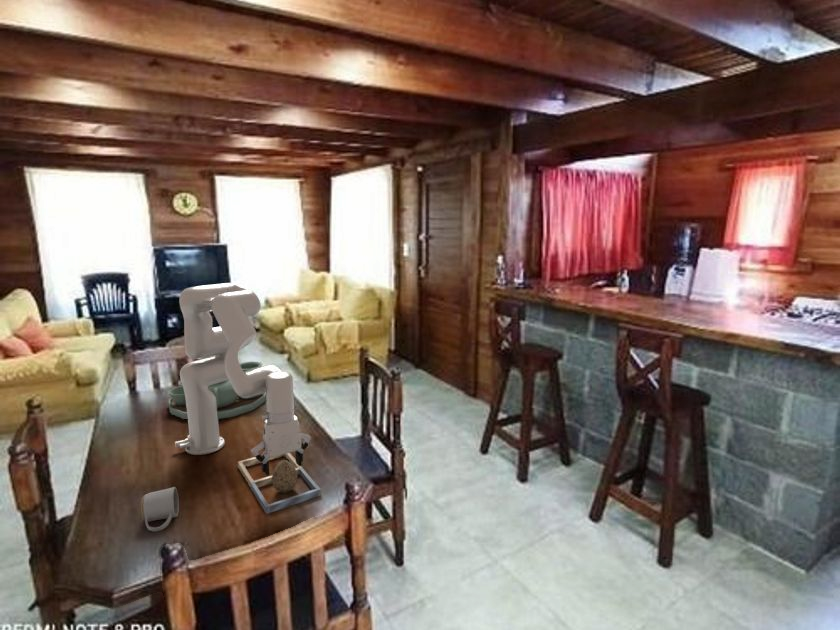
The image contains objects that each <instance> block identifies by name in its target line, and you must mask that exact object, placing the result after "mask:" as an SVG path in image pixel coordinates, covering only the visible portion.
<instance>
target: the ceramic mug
mask: <svg viewBox="0 0 840 630" xmlns="http://www.w3.org/2000/svg"><path fill="white" fill-rule="evenodd" d="M140 501H141V503H140V514H141V518H142V520H143V521H144V522H145V523H144V524H145V526H146V528H147V530H148V531H150V532H153V533H154V532H159V531H163V530H164V529H165V528H168V526H169V525H170V522H171V520H172V518H177V517H178V515H179V511H180V510H179V509H180V501H179V493H178V490H177V488H176V487H175V486H173V487H167V488H165V489H164V488H163V489H161V490H157V491H152V492H148V493H146V494H144V495H142V497H141V500H140ZM160 520H166V521H165V522H164V523H162V524H161V525H160V526H158V527H157V526H156V527H154V526H151V525H149V522H155V521H160Z"/></svg>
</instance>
